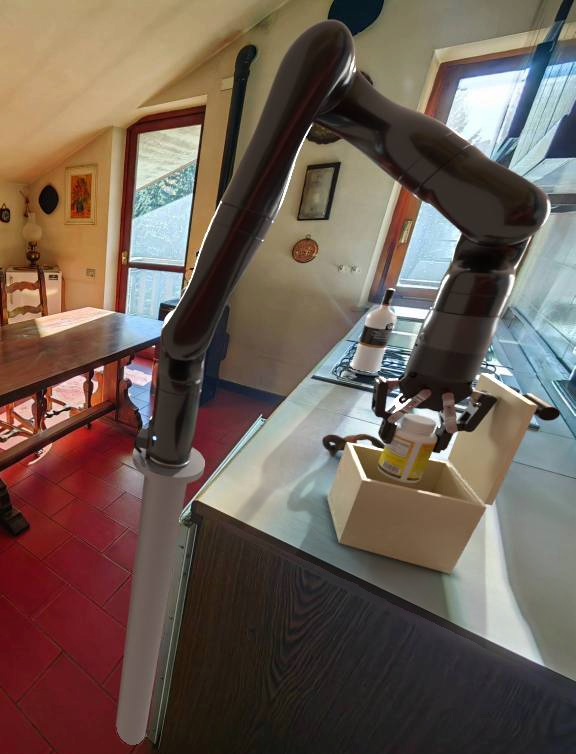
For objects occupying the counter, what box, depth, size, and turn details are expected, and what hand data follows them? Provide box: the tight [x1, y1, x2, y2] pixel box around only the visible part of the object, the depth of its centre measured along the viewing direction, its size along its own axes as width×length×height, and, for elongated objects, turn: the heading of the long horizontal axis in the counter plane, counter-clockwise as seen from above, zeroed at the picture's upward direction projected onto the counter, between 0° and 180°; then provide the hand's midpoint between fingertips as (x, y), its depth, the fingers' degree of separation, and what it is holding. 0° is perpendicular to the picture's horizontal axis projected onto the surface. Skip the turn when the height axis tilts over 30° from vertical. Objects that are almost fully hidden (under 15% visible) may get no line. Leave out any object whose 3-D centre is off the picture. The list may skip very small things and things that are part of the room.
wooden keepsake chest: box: [327, 442, 487, 575], centre depth 65 cm, size 15×13×13 cm
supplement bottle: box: [378, 413, 437, 483], centre depth 62 cm, size 6×6×10 cm
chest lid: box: [447, 372, 561, 506], centre depth 56 cm, size 15×13×5 cm
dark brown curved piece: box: [321, 433, 385, 458], centre depth 86 cm, size 12×9×8 cm
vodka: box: [348, 288, 398, 377], centre depth 136 cm, size 9×9×30 cm
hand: (408, 445), depth 61 cm, fingers closed on supplement bottle, 5 cm apart
